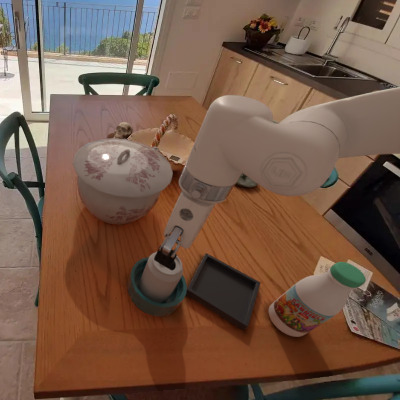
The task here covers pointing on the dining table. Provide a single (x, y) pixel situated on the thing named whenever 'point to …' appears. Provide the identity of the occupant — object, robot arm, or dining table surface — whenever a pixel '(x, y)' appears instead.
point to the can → (160, 279)
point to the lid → (246, 181)
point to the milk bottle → (315, 299)
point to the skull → (122, 131)
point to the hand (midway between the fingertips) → (172, 247)
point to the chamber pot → (120, 178)
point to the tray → (224, 290)
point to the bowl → (149, 305)
